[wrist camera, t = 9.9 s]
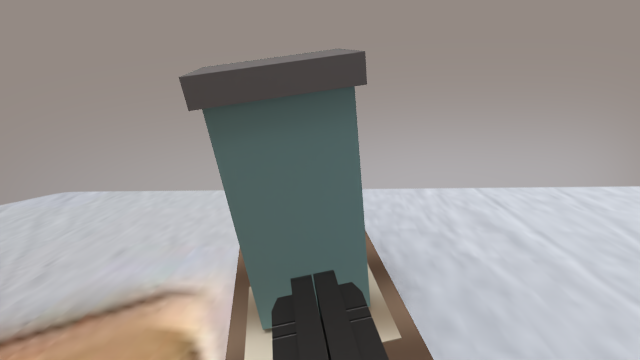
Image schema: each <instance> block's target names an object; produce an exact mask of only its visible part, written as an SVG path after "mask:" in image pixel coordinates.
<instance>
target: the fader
mask: <svg viewBox="0 0 640 360" xmlns="http://www.w3.org/2000/svg"><path fill="white" fill-rule="evenodd" d="M179 79H180V83H181V86H182V90H183V93H184V97H185V100H186V103H187V107H188V110H189V111H191V110H199V109H202V110H203V114H204V118H205V121H206V125H207V128H208V132H209V136H210V139H211V143H212V147H213V150H214V154H215V158H216V161H217V165H218V169H219V172H220V176H221V179H222V183H223V187H224V190H225V194H226V198H227V201H228V205H229V209H230V212H231V216H232V220H233V223H234V227H235V230H236V234H237V238H238V241H239V245H240V249H241V252H242V256H243V260H244V263H245V267H246V271H247V274H248V278H249V281H250V285H251V289H252V292H253V296H254V300H255V303H256V307H257V311H258V314H259V318H260V322H261V325H262V329H263V330H264V329H268V328H272V315H271V311H272V309H273V306H274V304H275V302H276V300H277V298H279V297H283V296H288V295H292V289H291V278H296V277H301V276H305V275H310V274H311V276H312V281H313V285H314V290H315V284H314V278H313V274H315V273H319V272H324V271H329V270H334V272H335V275H336V279H337V282H338V285H339V284H344V283H349V282H352V283H354V284H355V285H356V286H357V287H358V288H359V289H360V290H361V291H362V293H363V295H364V298H365V300H366V303H367V306H368V307H370V293H369V279H368V266H367V252H366V238H365V225H364V211H363V197H362V183H361V170H360V156H359V143H358V128H357V115H356V101H355V88H354V86H359V85H366V84H367V79H366V60H365V51H357V50H346V49H333V50H326V51H319V52H311V53H304V54H296V55H289V56H282V57H274V58H267V59H260V60H253V61H245V62H238V63H231V64H223V65H217V66H209V67H203V68H200V69H198V70H195V71H193V72H190V73H188V74H186V75H183V76H181V77H179ZM315 295H316V290H315ZM316 300H317V296H316ZM317 305H318V302H317ZM318 310H319V308H318ZM319 315H320V314H319Z"/></svg>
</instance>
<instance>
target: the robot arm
mask: <svg viewBox="0 0 640 360" xmlns="http://www.w3.org/2000/svg"><path fill="white" fill-rule="evenodd" d="M313 278H314V284H315V290H316V295H315V290H314V285H313V281H312V276H311V274H310V275H305V276H301V277H296V278H291V289H292V295H288V296H283V297H279V298H277V300H276V302H275V304H274V306H273V309H272V311H271V315H272V340H273V341H272V350H273V360H389V358H388V356H387V353H386V351H385V348H384V346H383V343H382V341H381V338H380V336H379V333H378V330H377V328H376V325H375V323H374V320H373V318H372V316H371V313H370V310H369V308H368V306H367V303H366V300H365V298H364V295H363V293H362V291H361V290H360V289H359V288H358V287H357V286H356V285H355V284H354V283H352V282H349V283H344V284H339V285H338V282H337V279H336V275H335V272H334V270H329V271H324V272H319V273H315V274H313ZM316 296H317V300H316ZM317 302H318V305H317ZM318 308H319V310H318ZM319 314H320V315H319ZM320 319H321V320H320ZM321 324H322V325H321Z"/></svg>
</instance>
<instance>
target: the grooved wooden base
mask: <svg viewBox="0 0 640 360" xmlns="http://www.w3.org/2000/svg"><path fill="white" fill-rule="evenodd" d="M365 238H366V252H367V266H368V279H369V293H370V307H368V308H369V310H370V313H371V316H372V318H373V320H374V323H375V325H376V328H377V330H378V333H379V336H380V338H381V341H382V343H383V346H384V348H385V351H386V353H387V356H388V358H389V360H433V358H432V356H431V354H430V352H429V350H428V348H427V346H426V344H425V343H424V341H423V339H422V337H421V335H420V333H419V331H418V329H417V327H416V326H415V324H414V322H413V320H412V318H411V316H410V314H409V312H408V310H407V308H406V307H405V305H404V303H403V301H402V299H401V297H400V295H399V293H398V291H397V289H396V288H395V286H394V284H393V282H392V280H391V278H390V276H389V274H388V272H387V271H386V269H385V267H384V265H383V263H382V261H381V259H380V257H379V255H378V253H377V252H376V250H375V248H374V246H373V244H372V242H371V240H370V238H369V236H368V234H367V233H366V231H365ZM320 320H321V319H320ZM321 325H322V324H321ZM272 341H273V340H272V328H268V329H264V330H263V329H262V325H261V322H260V318H259V314H258V311H257V307H256V303H255V300H254V296H253V292H252V289H251V285H250V281H249V278H248V274H247V271H246V267H245V263H244V260H243V256H242V252H241V249H240V250H239V257H238V265H237V273H236V281H235V289H234V297H233V305H232V313H231V321H230V329H229V336H228V344H227V352H226V360H273V350H272Z"/></svg>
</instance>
